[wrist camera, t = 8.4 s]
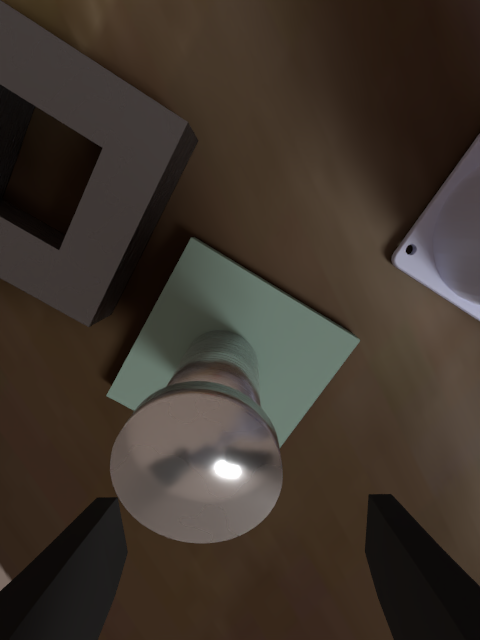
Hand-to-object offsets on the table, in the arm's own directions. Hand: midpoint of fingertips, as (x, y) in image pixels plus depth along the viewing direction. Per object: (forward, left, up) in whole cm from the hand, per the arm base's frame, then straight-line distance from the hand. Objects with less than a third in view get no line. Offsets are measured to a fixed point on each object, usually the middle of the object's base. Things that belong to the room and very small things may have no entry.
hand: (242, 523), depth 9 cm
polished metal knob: (0, -2, -8) cm, 9 cm away
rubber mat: (0, -1, -9) cm, 10 cm away
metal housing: (-4, -13, -9) cm, 17 cm away
